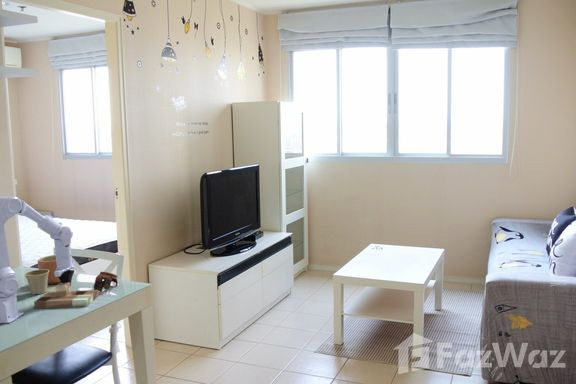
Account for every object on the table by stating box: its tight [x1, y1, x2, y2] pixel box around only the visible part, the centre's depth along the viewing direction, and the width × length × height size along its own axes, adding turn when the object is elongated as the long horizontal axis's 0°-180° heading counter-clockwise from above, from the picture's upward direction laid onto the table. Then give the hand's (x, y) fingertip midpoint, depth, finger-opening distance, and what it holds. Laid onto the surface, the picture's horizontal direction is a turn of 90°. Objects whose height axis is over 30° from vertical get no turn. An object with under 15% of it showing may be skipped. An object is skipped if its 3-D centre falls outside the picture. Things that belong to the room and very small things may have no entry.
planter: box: [37, 254, 61, 285], centre depth 235 cm, size 12×12×11 cm
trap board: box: [33, 289, 100, 309], centre depth 206 cm, size 12×20×2 cm, turn 89°
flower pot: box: [24, 269, 49, 295], centre depth 220 cm, size 9×9×9 cm
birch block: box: [54, 283, 72, 296], centre depth 208 cm, size 4×4×4 cm
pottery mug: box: [93, 271, 119, 293], centre depth 222 cm, size 12×10×8 cm
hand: (67, 289), depth 211 cm, fingers closed
